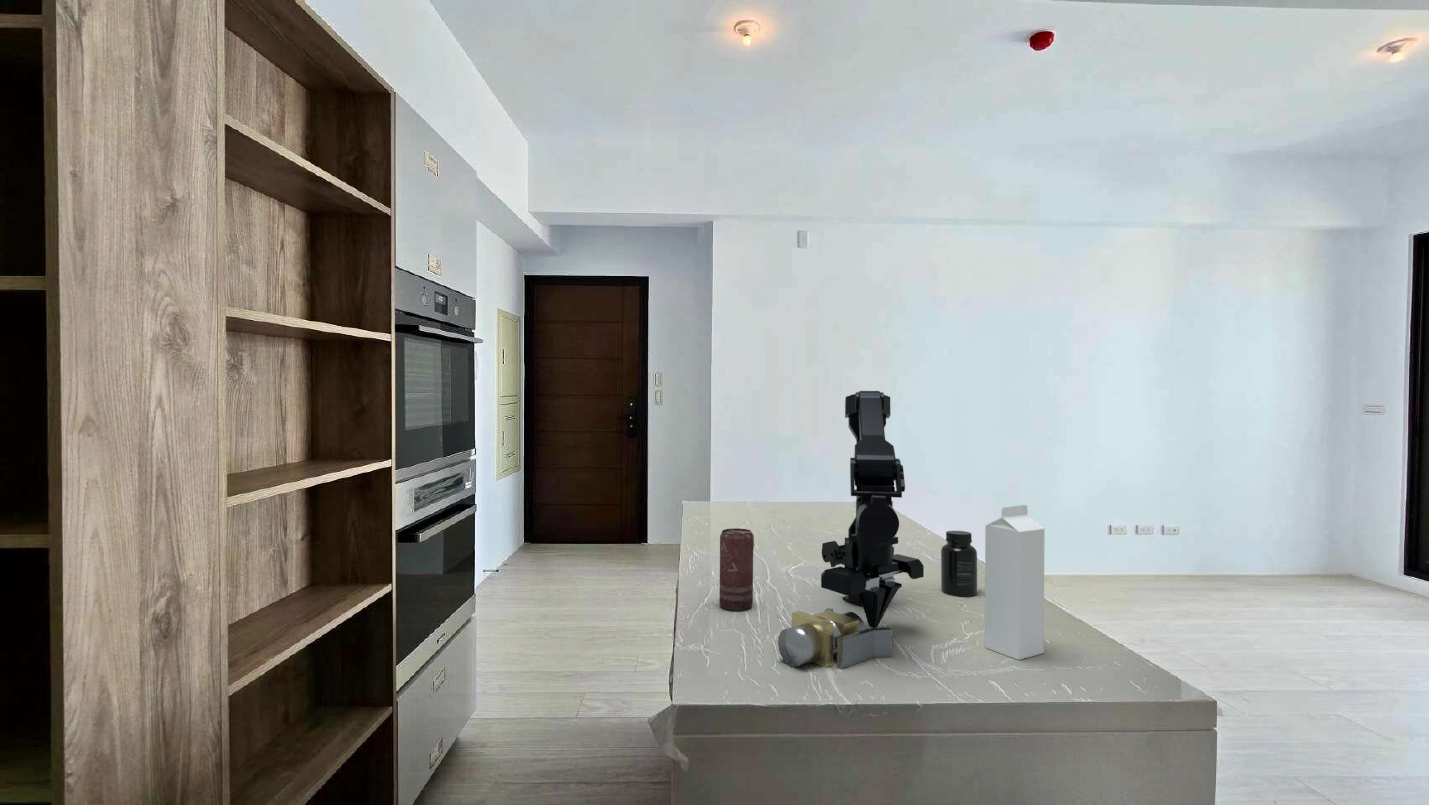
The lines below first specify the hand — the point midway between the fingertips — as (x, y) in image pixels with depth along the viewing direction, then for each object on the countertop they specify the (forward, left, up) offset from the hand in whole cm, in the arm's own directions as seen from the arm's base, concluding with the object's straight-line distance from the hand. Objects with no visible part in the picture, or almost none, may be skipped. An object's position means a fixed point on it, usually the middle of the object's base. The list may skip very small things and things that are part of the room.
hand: (873, 627), depth 106 cm
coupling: (+11, 0, -2) cm, 11 cm away
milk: (-13, +16, -2) cm, 21 cm away
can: (+7, -26, -2) cm, 27 cm away
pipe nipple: (+9, 0, -2) cm, 9 cm away
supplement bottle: (-35, -7, -2) cm, 36 cm away
